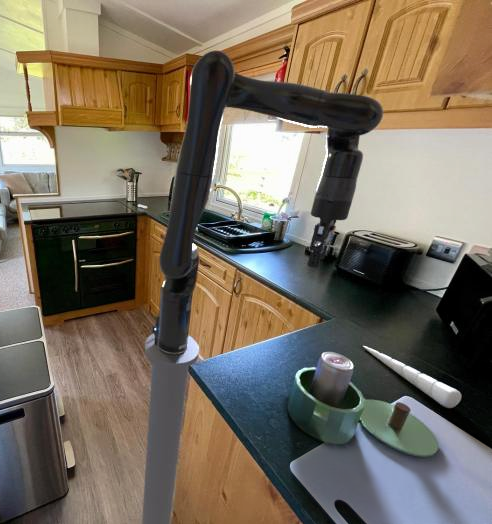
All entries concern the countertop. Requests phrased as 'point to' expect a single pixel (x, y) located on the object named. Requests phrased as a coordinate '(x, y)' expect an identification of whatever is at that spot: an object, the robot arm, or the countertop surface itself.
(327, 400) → the beverage can
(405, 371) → the unicorn horn
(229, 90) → the robot arm
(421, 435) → the pot lid
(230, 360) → the countertop surface
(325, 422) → the pot
